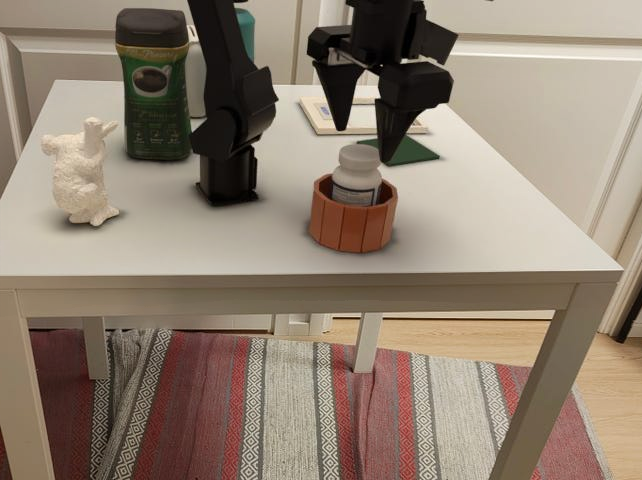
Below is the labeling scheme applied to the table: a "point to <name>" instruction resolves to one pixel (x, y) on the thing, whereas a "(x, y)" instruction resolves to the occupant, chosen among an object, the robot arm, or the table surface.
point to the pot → (351, 219)
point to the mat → (406, 151)
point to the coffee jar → (154, 82)
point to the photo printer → (195, 75)
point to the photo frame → (324, 124)
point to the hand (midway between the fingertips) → (362, 145)
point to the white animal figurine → (81, 172)
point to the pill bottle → (357, 176)
